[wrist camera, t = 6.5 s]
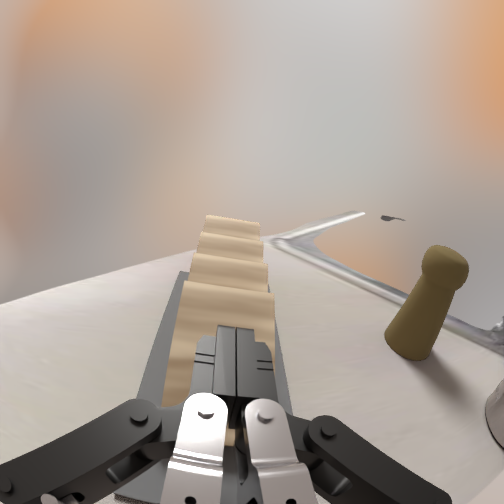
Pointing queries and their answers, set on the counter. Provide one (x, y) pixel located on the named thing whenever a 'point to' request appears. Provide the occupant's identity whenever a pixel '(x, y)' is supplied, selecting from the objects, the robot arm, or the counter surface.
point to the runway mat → (151, 390)
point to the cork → (427, 303)
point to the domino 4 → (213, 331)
